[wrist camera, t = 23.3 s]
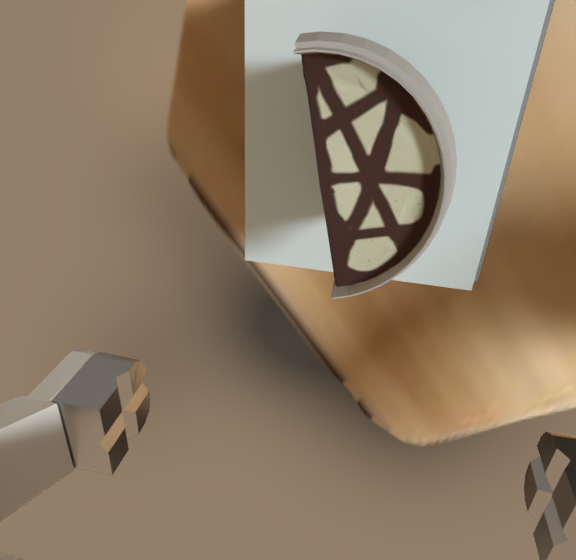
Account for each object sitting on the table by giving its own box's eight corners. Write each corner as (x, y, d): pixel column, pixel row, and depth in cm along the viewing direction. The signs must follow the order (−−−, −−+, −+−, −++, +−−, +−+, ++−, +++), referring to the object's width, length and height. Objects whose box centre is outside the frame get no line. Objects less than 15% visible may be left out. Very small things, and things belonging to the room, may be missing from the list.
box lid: (552, -28, 25) (557, -29, 24) (469, 283, 34) (471, 290, 33) (249, -39, 27) (244, -40, 26) (248, 254, 36) (245, 260, 36)
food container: (446, 221, 31) (463, 303, 23) (351, 230, 33) (332, 308, 24) (440, 4, 26) (459, 3, 17) (325, 26, 27) (290, 35, 19)
